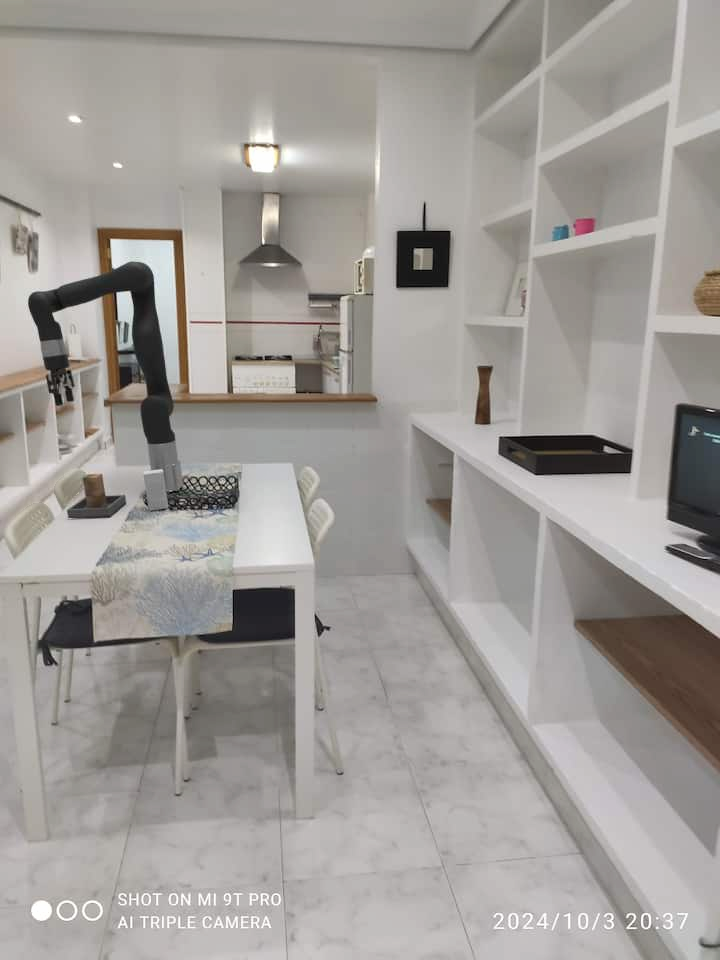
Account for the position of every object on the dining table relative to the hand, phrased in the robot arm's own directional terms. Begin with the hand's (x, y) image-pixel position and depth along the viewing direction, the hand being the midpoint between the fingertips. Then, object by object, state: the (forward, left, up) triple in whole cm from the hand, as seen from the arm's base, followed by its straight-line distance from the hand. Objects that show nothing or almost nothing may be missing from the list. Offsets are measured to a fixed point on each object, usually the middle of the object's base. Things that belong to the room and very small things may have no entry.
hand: (65, 403), depth 233 cm
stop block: (-14, +20, -31) cm, 40 cm away
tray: (-14, +20, -32) cm, 40 cm away
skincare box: (-33, +19, -32) cm, 50 cm away
